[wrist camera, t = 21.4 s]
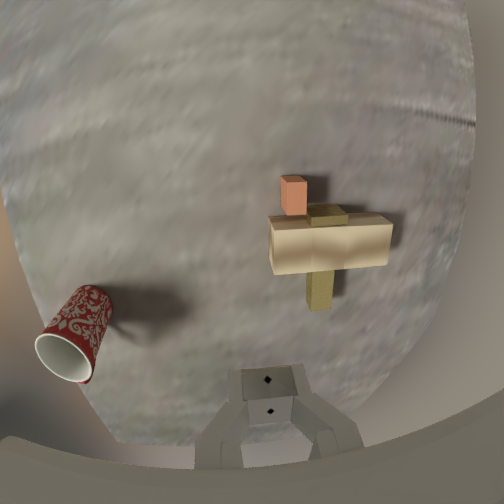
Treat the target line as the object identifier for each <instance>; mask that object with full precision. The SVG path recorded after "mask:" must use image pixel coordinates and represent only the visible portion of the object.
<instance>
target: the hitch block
mask: <svg viewBox="0 0 504 504" xmlns="http://www.w3.org/2000/svg"><path fill="white" fill-rule="evenodd" d="M347 214H348V224H343V225H330V226H317V227H311V226H310V225H309V223H308V222H307V221H306V219H305V218H304V216H303V215H292V216H273V217H268V221H269V259H270V262H271V265H272V269H273V272H274V275H282V274H294V273H306V272H317V271H329V270H339V269H350V268H360V267H370V266H380V265H387V261H388V255H389V249H390V243H391V237H392V230H393V224H392V223H391V222H389V221H388V220H387V219H385V218H384V217H383V216H381V215H380V214H378V213H377V212H367V213H347Z"/></svg>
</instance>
